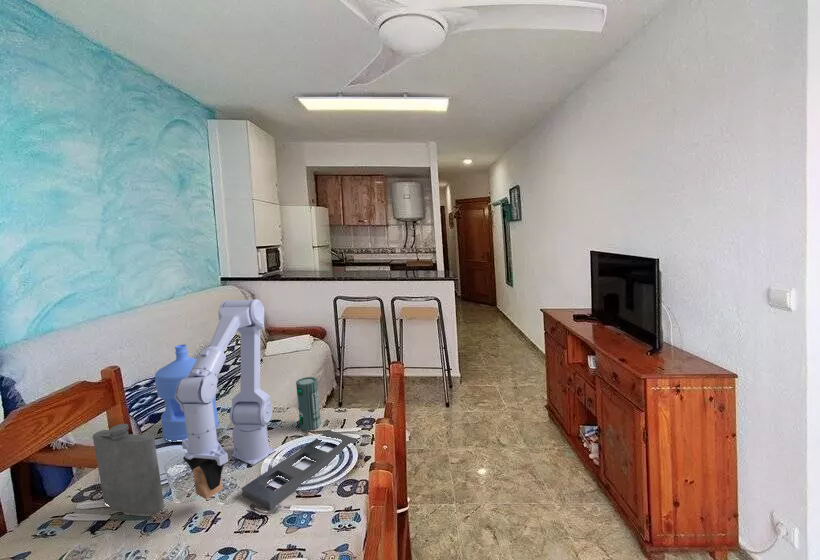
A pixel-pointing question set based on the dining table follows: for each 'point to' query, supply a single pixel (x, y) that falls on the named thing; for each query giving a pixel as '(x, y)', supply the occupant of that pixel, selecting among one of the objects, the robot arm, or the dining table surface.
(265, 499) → the grey flat perforated plate
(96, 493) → the dining table surface
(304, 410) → the can
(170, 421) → the water jug
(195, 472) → the square block
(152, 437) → the hip flask
